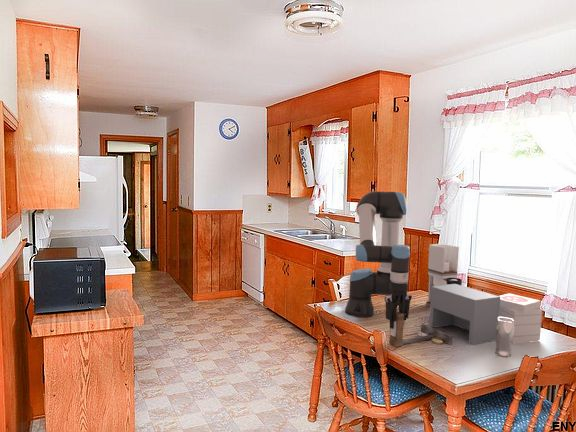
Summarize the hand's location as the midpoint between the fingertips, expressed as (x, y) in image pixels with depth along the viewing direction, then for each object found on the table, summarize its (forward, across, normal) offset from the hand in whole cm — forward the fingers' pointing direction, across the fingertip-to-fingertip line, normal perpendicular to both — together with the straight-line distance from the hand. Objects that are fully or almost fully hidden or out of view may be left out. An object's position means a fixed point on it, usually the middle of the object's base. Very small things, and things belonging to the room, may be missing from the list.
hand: (396, 334), depth 197 cm
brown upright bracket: (+4, +11, 0) cm, 12 cm away
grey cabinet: (+5, +40, 0) cm, 40 cm away
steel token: (+5, +20, +4) cm, 21 cm away
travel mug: (+5, +56, +21) cm, 60 cm away
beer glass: (+5, +35, -26) cm, 44 cm away
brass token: (+5, +20, -4) cm, 21 cm away
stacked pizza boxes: (+5, +60, -8) cm, 61 cm away
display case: (+5, +64, +37) cm, 74 cm away
